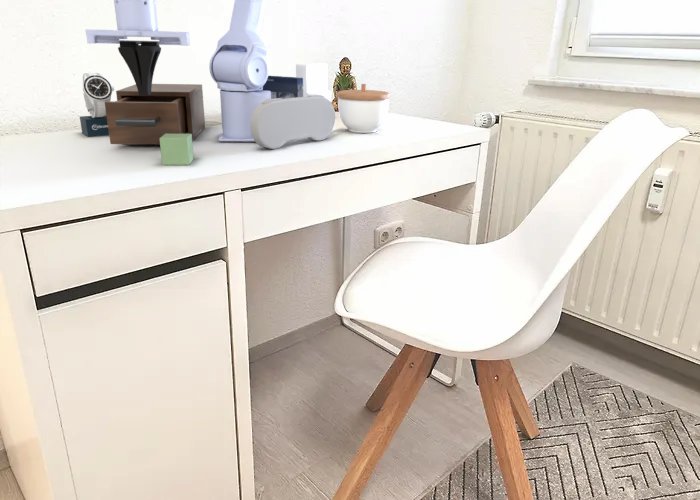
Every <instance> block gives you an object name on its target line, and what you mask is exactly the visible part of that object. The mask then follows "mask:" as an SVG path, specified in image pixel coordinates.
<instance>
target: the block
mask: <svg viewBox="0 0 700 500" xmlns="http://www.w3.org/2000/svg"><path fill="white" fill-rule="evenodd" d="M159 147H160V148H159V149H160V155H161V164H162V166H189V165H191V163H193V161H194V159H195V158H194V157H195V156H194V146H193V140H192V134H164V135H163V136H162V137H161V138H160V144H159Z"/></svg>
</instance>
